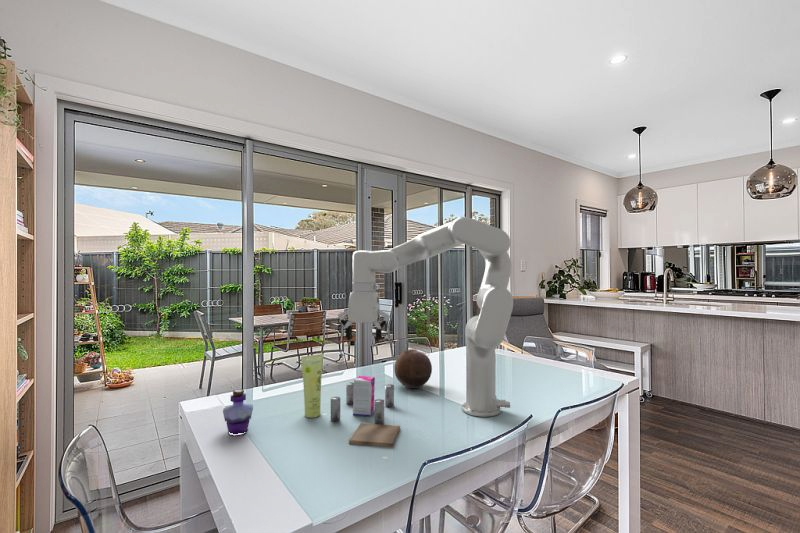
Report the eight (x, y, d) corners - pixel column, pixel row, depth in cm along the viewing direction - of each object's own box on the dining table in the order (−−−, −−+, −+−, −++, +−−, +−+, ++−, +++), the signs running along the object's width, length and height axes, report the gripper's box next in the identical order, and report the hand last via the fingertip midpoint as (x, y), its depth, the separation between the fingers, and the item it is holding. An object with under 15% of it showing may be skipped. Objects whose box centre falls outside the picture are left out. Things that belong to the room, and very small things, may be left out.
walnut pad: (400, 429, 117) (400, 425, 117) (392, 447, 105) (392, 443, 105) (360, 426, 119) (360, 423, 119) (348, 443, 107) (348, 440, 107)
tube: (314, 419, 124) (314, 357, 124) (300, 417, 126) (300, 356, 126) (323, 413, 130) (323, 353, 130) (309, 411, 131) (309, 352, 131)
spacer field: (394, 404, 138) (394, 384, 138) (383, 425, 119) (383, 402, 119) (347, 401, 141) (347, 382, 141) (329, 422, 122) (329, 399, 122)
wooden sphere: (439, 388, 157) (439, 350, 157) (408, 395, 148) (408, 355, 148) (416, 379, 169) (416, 344, 169) (387, 385, 160) (387, 348, 161)
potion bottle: (230, 425, 119) (230, 386, 119) (258, 426, 119) (258, 386, 119) (216, 438, 111) (216, 395, 111) (246, 438, 110) (246, 395, 110)
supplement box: (370, 416, 127) (370, 381, 127) (352, 415, 128) (352, 380, 128) (374, 410, 132) (375, 376, 132) (358, 409, 133) (358, 375, 134)
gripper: (391, 288, 133) (391, 339, 132) (342, 287, 136) (342, 337, 135) (387, 289, 125) (387, 343, 125) (335, 288, 128) (334, 341, 128)
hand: (363, 340), depth 130 cm, fingers open, 9 cm apart
